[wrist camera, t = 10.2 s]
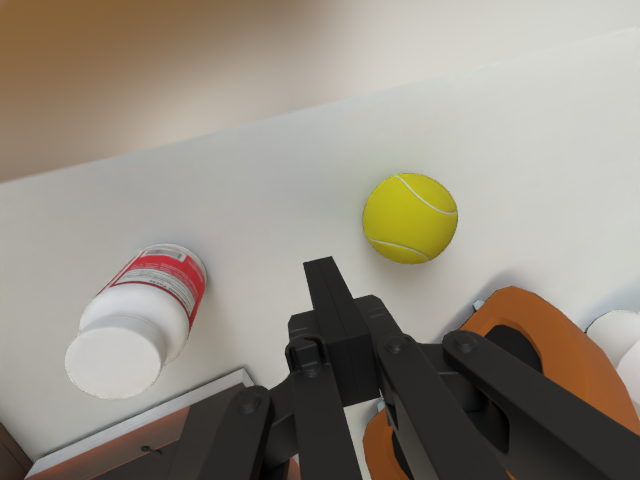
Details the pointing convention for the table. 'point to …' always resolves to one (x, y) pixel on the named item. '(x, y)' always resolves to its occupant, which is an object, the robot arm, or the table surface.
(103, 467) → the picture frame
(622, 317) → the potted plant
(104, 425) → the table surface
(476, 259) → the table surface
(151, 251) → the pill bottle
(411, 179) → the tennis ball
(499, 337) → the alarm clock
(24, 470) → the cabinet
